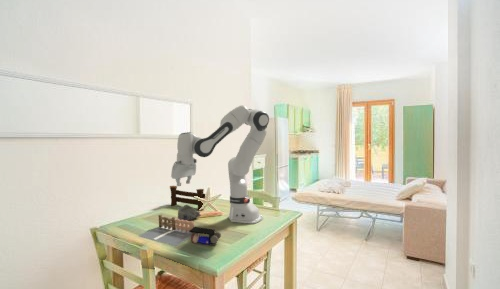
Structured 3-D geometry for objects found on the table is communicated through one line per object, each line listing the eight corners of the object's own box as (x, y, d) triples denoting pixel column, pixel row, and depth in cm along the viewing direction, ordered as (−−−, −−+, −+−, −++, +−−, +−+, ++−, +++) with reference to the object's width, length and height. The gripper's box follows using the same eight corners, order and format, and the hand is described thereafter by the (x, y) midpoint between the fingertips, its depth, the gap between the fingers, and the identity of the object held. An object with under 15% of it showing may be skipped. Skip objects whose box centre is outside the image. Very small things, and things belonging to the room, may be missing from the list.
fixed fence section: (176, 229, 145) (176, 217, 145) (174, 230, 143) (173, 218, 143) (160, 226, 151) (160, 214, 150) (158, 227, 149) (157, 215, 149)
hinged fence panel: (174, 229, 143) (174, 219, 143) (177, 228, 145) (176, 218, 144) (192, 233, 137) (192, 222, 137) (195, 232, 139) (194, 221, 138)
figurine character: (220, 244, 129) (193, 238, 132) (222, 229, 128) (194, 224, 131) (216, 250, 122) (187, 244, 125) (217, 235, 121) (188, 229, 125)
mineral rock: (201, 218, 164) (201, 203, 163) (191, 224, 154) (191, 208, 153) (185, 216, 169) (185, 201, 168) (174, 221, 159) (174, 206, 159)
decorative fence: (206, 208, 184) (205, 188, 183) (201, 211, 179) (200, 190, 178) (172, 203, 200) (172, 184, 199) (167, 205, 195) (166, 186, 194)
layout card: (203, 230, 143) (203, 229, 143) (176, 246, 124) (176, 245, 124) (167, 223, 156) (167, 222, 156) (137, 236, 137) (137, 235, 137)
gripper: (179, 162, 132) (178, 188, 132) (198, 159, 151) (197, 182, 151) (168, 161, 134) (167, 187, 134) (189, 159, 153) (188, 181, 153)
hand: (183, 184), depth 143 cm, fingers open, 8 cm apart
